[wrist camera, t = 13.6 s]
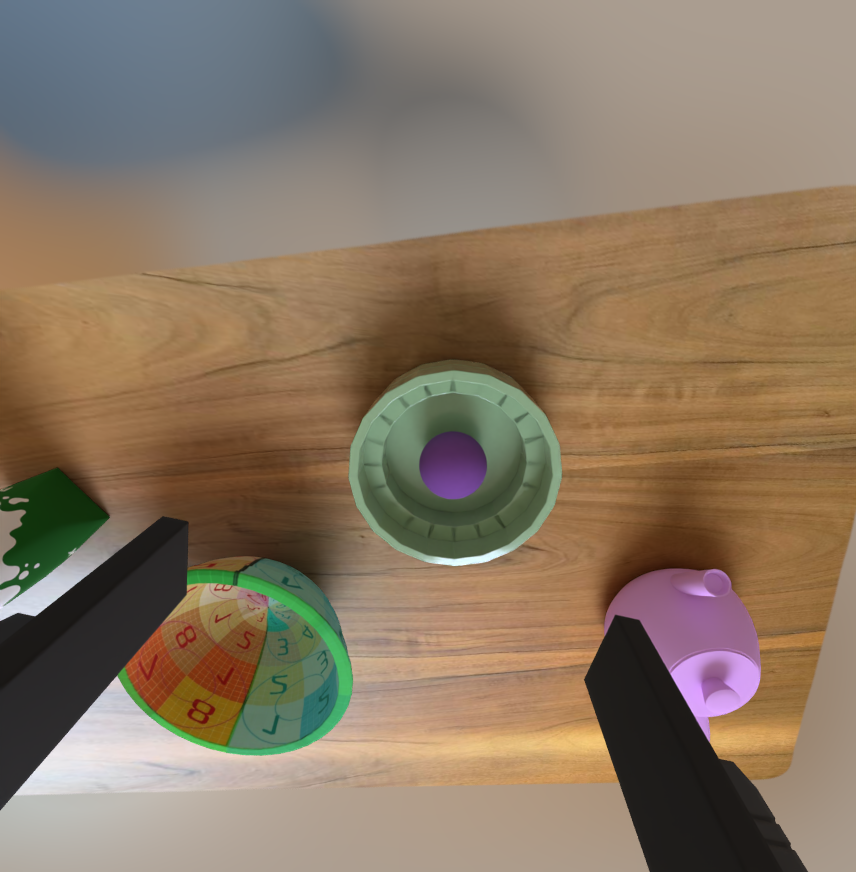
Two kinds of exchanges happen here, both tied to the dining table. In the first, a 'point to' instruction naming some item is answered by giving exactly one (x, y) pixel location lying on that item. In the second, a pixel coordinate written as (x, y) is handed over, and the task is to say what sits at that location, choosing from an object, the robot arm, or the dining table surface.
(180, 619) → the bowl
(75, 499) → the milk carton
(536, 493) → the green bowl
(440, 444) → the ball
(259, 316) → the dining table surface
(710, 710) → the teapot
